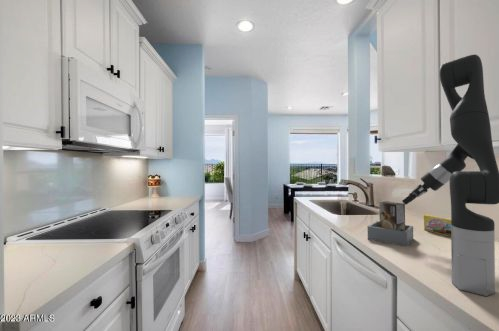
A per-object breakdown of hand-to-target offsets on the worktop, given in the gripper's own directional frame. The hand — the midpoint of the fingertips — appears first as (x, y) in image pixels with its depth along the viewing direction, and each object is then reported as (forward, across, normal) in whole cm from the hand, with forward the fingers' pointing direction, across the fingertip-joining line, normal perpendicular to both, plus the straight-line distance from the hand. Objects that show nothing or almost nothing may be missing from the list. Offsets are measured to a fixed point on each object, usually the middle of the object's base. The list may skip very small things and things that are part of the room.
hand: (405, 201), depth 111 cm
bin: (+17, 0, +8) cm, 19 cm away
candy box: (+5, -25, +20) cm, 33 cm away
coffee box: (+16, -1, +8) cm, 18 cm away
